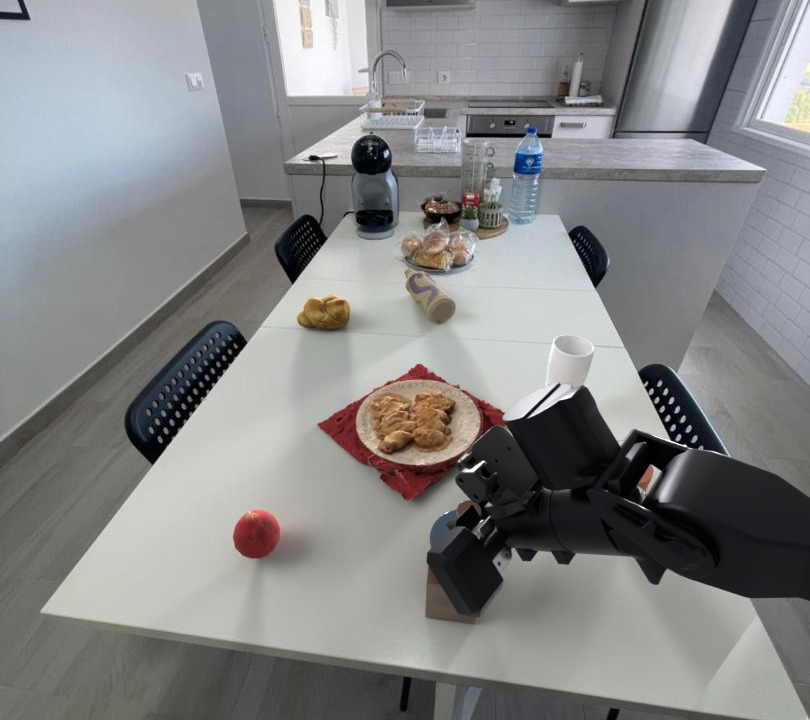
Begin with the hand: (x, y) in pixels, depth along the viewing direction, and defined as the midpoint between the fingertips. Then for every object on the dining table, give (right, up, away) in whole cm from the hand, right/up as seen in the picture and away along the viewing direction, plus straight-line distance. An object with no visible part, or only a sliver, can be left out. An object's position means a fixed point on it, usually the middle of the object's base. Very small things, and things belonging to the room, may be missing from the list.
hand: (457, 517), depth 49 cm
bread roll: (-25, +26, +60) cm, 70 cm away
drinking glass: (+22, +7, +33) cm, 41 cm away
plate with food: (-4, +5, +31) cm, 32 cm away
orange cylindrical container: (+25, -4, +18) cm, 31 cm away
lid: (+1, -3, +1) cm, 3 cm away
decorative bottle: (0, +33, +69) cm, 76 cm away
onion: (-25, -9, +12) cm, 29 cm away
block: (0, -12, +6) cm, 14 cm away
